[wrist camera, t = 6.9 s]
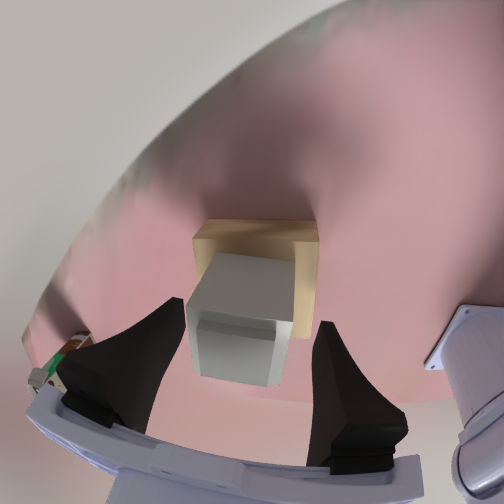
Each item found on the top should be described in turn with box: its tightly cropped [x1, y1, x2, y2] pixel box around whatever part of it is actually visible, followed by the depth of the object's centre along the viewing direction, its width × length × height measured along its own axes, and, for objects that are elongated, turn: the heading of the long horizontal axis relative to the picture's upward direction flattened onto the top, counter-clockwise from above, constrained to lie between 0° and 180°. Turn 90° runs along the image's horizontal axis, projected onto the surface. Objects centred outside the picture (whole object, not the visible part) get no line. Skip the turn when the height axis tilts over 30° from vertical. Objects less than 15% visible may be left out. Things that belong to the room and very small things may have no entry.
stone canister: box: [186, 252, 296, 387], centre depth 14 cm, size 4×4×6 cm
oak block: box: [192, 219, 320, 339], centre depth 18 cm, size 7×7×4 cm
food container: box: [27, 331, 96, 399], centre depth 25 cm, size 12×6×10 cm, turn 0°
